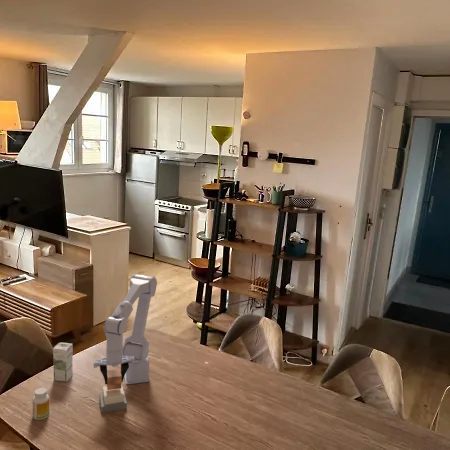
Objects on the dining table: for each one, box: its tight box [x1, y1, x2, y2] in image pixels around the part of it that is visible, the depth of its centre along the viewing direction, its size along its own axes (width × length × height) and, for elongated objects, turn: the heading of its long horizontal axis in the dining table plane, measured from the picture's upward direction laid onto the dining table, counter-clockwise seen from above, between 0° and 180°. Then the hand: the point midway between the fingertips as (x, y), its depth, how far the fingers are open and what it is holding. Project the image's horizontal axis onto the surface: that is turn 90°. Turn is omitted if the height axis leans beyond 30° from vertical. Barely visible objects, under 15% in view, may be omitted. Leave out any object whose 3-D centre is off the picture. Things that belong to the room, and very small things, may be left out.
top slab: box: [102, 383, 125, 405], centre depth 158 cm, size 7×7×3 cm
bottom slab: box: [98, 388, 128, 414], centre depth 159 cm, size 9×9×3 cm
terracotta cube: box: [106, 368, 123, 390], centre depth 157 cm, size 5×5×5 cm
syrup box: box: [52, 342, 74, 383], centre depth 171 cm, size 6×6×14 cm
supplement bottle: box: [32, 387, 50, 421], centre depth 148 cm, size 5×5×10 cm
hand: (113, 381), depth 157 cm, fingers closed on terracotta cube, 5 cm apart
